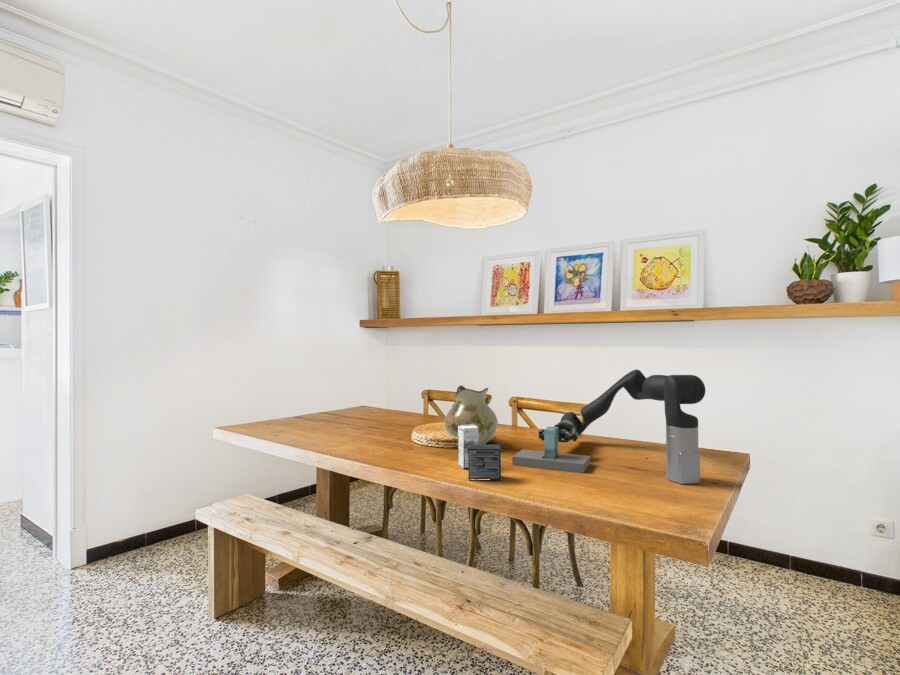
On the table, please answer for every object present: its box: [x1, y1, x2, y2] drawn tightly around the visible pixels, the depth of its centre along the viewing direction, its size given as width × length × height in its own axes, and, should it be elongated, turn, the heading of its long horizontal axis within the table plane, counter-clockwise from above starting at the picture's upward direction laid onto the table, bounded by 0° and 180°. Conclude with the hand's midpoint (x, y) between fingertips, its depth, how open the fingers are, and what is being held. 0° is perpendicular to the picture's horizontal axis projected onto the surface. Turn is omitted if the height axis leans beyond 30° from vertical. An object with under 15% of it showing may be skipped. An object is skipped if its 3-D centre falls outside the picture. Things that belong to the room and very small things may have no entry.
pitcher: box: [444, 385, 498, 445], centre depth 202 cm, size 22×24×25 cm
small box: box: [467, 444, 502, 481], centre depth 155 cm, size 11×6×10 cm, turn 84°
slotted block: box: [511, 448, 591, 474], centre depth 171 cm, size 12×25×3 cm, turn 64°
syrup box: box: [457, 425, 478, 469], centre depth 169 cm, size 6×6×14 cm
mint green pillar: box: [543, 425, 559, 460], centre depth 171 cm, size 6×4×13 cm, turn 154°
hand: (553, 438), depth 176 cm, fingers open, 8 cm apart
